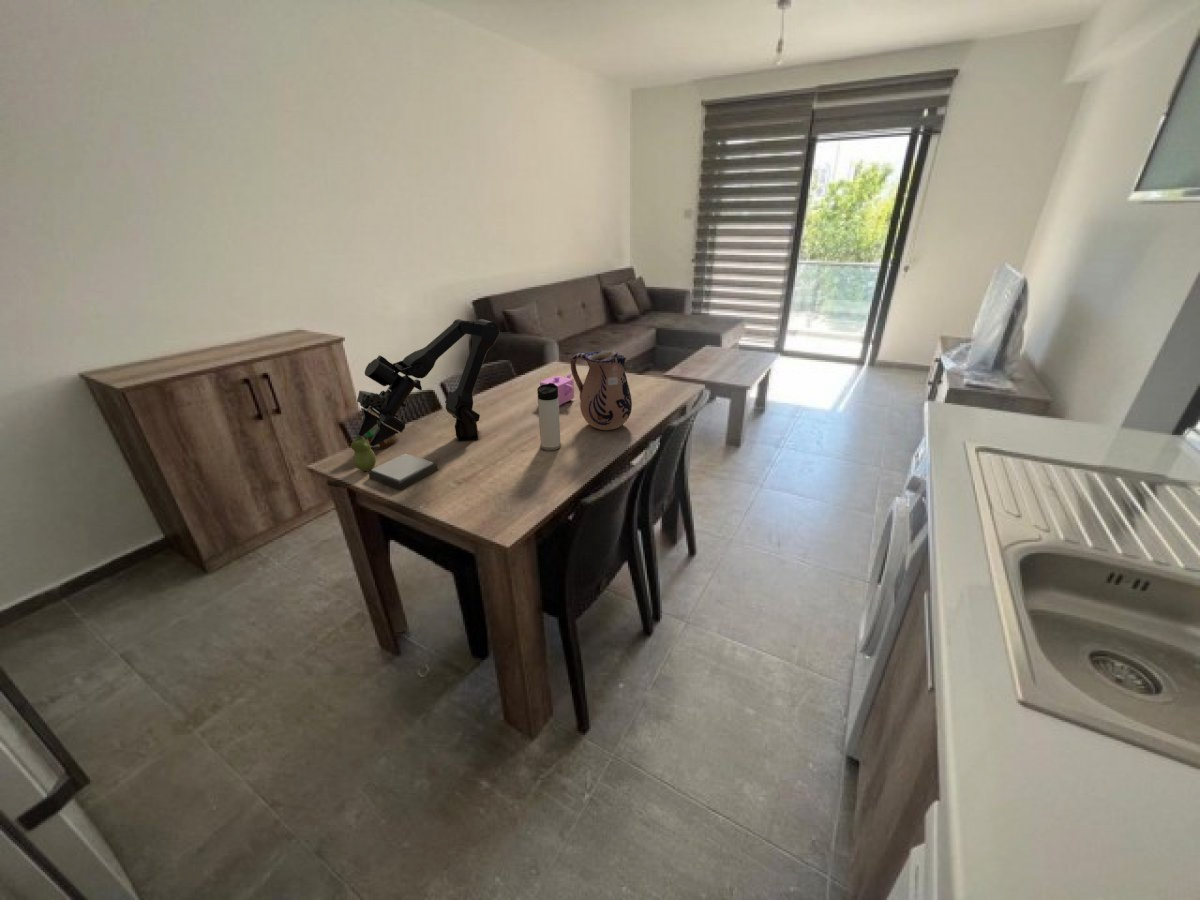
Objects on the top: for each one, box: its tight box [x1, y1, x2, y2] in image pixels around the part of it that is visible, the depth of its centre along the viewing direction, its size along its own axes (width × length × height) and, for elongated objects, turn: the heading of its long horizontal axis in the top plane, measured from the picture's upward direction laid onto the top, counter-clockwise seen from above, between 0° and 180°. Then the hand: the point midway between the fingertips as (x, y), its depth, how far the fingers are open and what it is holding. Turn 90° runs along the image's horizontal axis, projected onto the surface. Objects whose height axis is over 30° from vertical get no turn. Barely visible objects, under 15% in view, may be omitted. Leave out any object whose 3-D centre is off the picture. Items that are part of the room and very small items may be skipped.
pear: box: [350, 436, 377, 472], centre depth 136 cm, size 6×5×10 cm
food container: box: [365, 416, 397, 450], centre depth 152 cm, size 12×6×10 cm, turn 168°
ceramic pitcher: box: [570, 350, 633, 431], centre depth 161 cm, size 18×21×25 cm
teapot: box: [539, 373, 575, 407], centre depth 185 cm, size 18×14×10 cm
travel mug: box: [536, 383, 562, 452], centre depth 147 cm, size 6×7×20 cm
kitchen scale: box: [367, 453, 439, 491], centre depth 136 cm, size 13×13×3 cm
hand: (365, 440), depth 136 cm, fingers open, 9 cm apart
